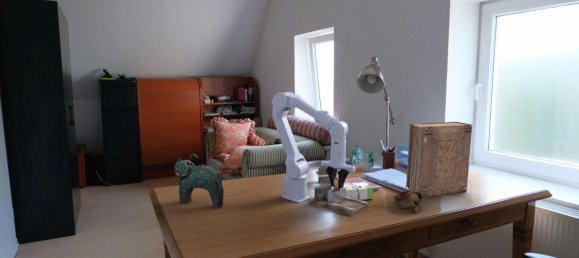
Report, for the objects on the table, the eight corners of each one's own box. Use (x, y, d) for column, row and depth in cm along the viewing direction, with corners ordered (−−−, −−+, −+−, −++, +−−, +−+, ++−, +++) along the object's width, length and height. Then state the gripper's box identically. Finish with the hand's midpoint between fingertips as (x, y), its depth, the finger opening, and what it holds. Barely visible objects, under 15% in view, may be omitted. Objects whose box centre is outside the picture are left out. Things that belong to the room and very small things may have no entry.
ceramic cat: (174, 203, 150) (172, 153, 147) (184, 198, 156) (182, 150, 153) (218, 210, 143) (217, 158, 140) (226, 204, 149) (226, 154, 146)
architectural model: (310, 190, 169) (310, 166, 167) (303, 179, 185) (303, 157, 184) (350, 188, 172) (351, 164, 170) (340, 178, 188) (340, 156, 186)
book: (419, 197, 160) (423, 126, 155) (405, 190, 168) (409, 123, 164) (467, 191, 168) (472, 124, 163) (451, 185, 177) (456, 121, 172)
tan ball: (324, 201, 151) (322, 192, 151) (329, 198, 154) (327, 190, 154) (332, 200, 149) (330, 191, 149) (337, 198, 151) (334, 189, 151)
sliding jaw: (327, 203, 147) (328, 179, 146) (339, 197, 153) (339, 175, 152) (334, 204, 145) (335, 181, 144) (345, 199, 151) (346, 176, 150)
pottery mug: (414, 217, 139) (403, 196, 140) (396, 220, 147) (386, 200, 148) (433, 202, 146) (422, 183, 147) (415, 206, 154) (405, 187, 155)
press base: (308, 203, 151) (308, 187, 150) (325, 196, 160) (325, 181, 159) (352, 216, 138) (352, 199, 137) (368, 207, 148) (368, 191, 146)
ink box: (373, 187, 156) (346, 189, 153) (373, 199, 156) (346, 201, 154) (365, 181, 164) (339, 183, 161) (364, 192, 165) (338, 194, 162)
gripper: (360, 153, 145) (358, 188, 147) (328, 148, 154) (327, 181, 156) (350, 157, 139) (349, 192, 142) (318, 151, 149) (317, 185, 151)
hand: (337, 187), depth 148 cm, fingers closed on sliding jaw, 3 cm apart
